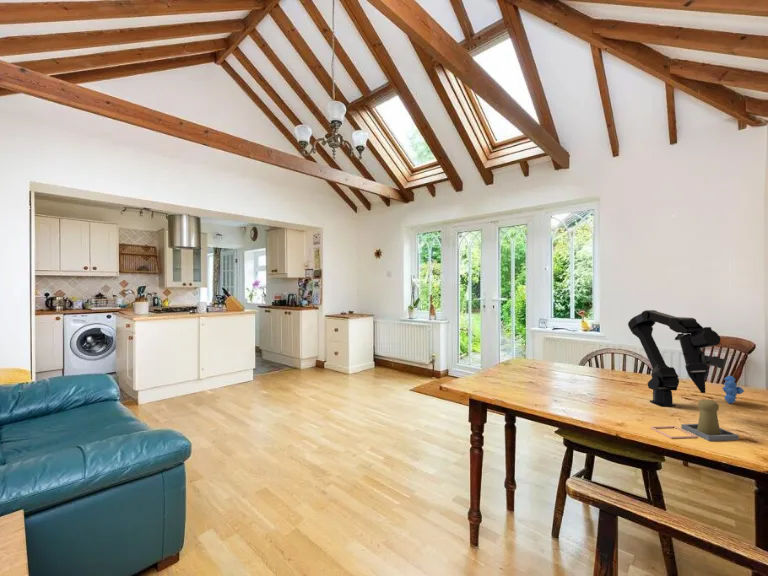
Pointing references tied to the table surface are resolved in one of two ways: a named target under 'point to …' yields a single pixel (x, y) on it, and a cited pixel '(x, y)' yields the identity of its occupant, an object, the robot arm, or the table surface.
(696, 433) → the lower port socket
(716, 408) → the cork
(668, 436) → the frame
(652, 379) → the robot arm
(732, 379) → the grapes
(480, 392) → the table surface
